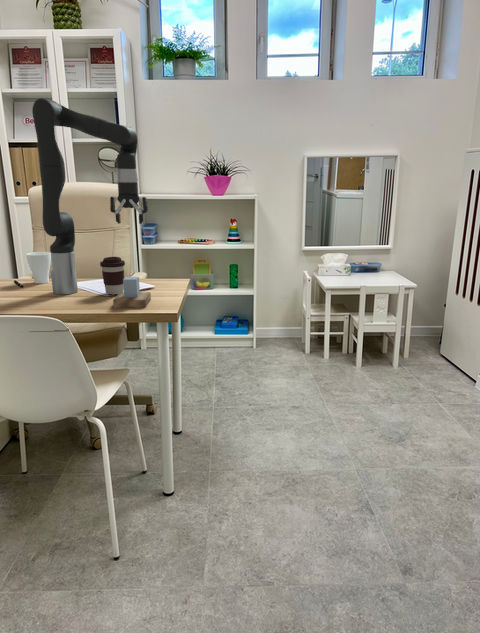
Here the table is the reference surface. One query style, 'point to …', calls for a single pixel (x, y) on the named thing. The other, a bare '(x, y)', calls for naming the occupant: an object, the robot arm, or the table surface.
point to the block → (131, 287)
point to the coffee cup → (113, 274)
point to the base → (132, 300)
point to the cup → (39, 266)
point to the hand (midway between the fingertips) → (129, 223)
